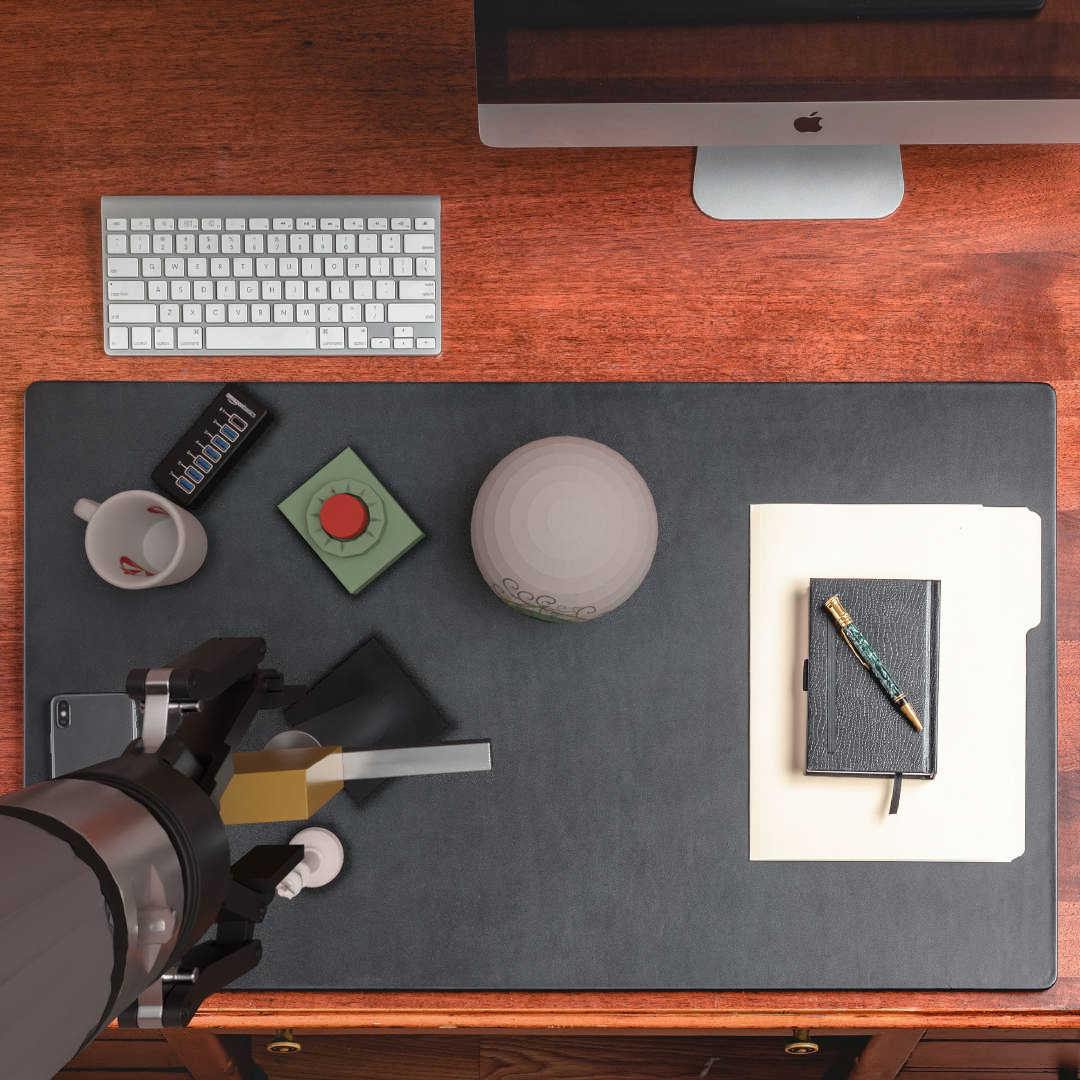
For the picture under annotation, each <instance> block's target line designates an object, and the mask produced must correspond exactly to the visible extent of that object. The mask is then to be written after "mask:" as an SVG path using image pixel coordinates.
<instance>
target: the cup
mask: <svg viewBox="0 0 1080 1080" xmlns="http://www.w3.org/2000/svg"><path fill="white" fill-rule="evenodd" d="M73 513H74V514H75V515H76V516H77V517H78V518H80V519H82V520H83V521H85V522H87V525H86V529H85V536H84V546H85V552H86V556H87V560H88V561H89V564H90V566H91V567H92V569H93V570H94V571H95V573H96V574H97V575H98V576H99V577H100V578H101V579H103V580H104V581H106V582H107V583H109V584H111V585H112V586H115V587H118V588H120V589H125V590H142V589H143V590H145V589H151V588H157V587H162V586H169V585H174V584H179V583H181V582H184V581H187V580H188V579H190V578H191V577H192V576H194V575H195V574H196V573H197V572H198V571H199V569H200V568H201V567H202V566H203V565H204V562H205V559H206V557H207V554H208V547H209V546H208V536H207V533H206V530H205V529H204V526H203V525H202V523H201V522H200V520H198V519H197V518H196V516H195V515H193V514H192V513H190V512H189V511H187V510H186V509H184V508H183V507H181V506H179V505H178V504H176V503H174V502H173V501H171V500H169V499H168V498H166V497H164V496H162V495H161V494H158V493H156V492H153V491H149V490H143V489H132V490H125V491H121V492H119V493H116V494H114V495H112V496H111V497H109V498H106V500H104V501H103V502H102V503H100V502H97V501H95V500H92V499H90V498H85V497H83V498H79V499H78V500H77V501H76V503H75V505H74V507H73Z"/></svg>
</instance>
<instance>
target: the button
mask: <svg viewBox="0 0 1080 1080" xmlns="http://www.w3.org/2000/svg"><path fill="white" fill-rule="evenodd" d="M320 520H321V524H322V526H323V528H324V529H325V530H326V531H327V532H328V533H329V534H331V535H333V536H335V537H338V538H341V539H350V538H354V537H356V536H358V535H359V534H360V533H361V532H362V531H363V530H364V528H365V526H366V523H367V512H366V509H365V507H364V506H363V504H362V503H361V502H360V501H358V500H357V499H355V498H354V497H352V496H350V495H346V494H338V495H335V496H332V497H330V498H329V499H328V500H327V501H326V502H325V503H324V504H323V506H322V508H321V512H320Z"/></svg>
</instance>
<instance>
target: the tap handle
mask: <svg viewBox="0 0 1080 1080" xmlns="http://www.w3.org/2000/svg"><path fill="white" fill-rule="evenodd" d="M492 740H493V739H492V737H483V738H467V739H453V740H439V741H431V742H422V743H407V744H392V745H378V746H363V747H348V748H342V746H327V747H312V748H297V749H282V750H267V751H263V750H255V751H254V750H253V751H240V752H235V753H234V755H233V756H232V757H233V763H234V770H235V772H234V775H233V777H232V779H231V781H230V782H229V784H228V786H227V788H226V790H225V792H224V794H223V795H222V797H221V799H220V806H221V809H220V812H219V814H220V816H221V818H222V820H223V823H224V826H229V825H230V826H231V825H233V826H234V825H244V824H245V825H246V824H247V825H248V824H257V823H258V824H259V823H260V824H263V823H274V822H291V821H292V822H293V821H304V820H309V819H310V818H311V817H312V816H313V815H314V814H316V813H317V812H318V811H319V810H320V809H321V808H322V807H323V806H325V805H326V804H327V803H328V802H329V801H330V800H331V799H332V798H333V797H335V796H336V795H337V794H338V793H339V792H341V790H343V789H345V788H344V781H343V780H357V779H371V778H386V777H389V778H401V777H415V776H427V775H428V776H429V775H443V774H459V773H472V772H488V771H492V768H493V765H494V758H493V757H494V756H493V742H492Z"/></svg>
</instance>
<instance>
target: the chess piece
mask: <svg viewBox="0 0 1080 1080" xmlns="http://www.w3.org/2000/svg"><path fill="white" fill-rule="evenodd" d="M291 844H304V859H303V860H302V861H301V862H300V863H299V864H298V865H297V866H296V867H295V868H294V869H293V870H292V871H291V872H290V873H289V874H288V875H287V876H286V877H285V878H284V879H283V880H282V881H281V882H280V884H279V885H278V886H277V887H276V888H275V889H276V891H277V894H278V895H279V896H280V897H281V898H282V897H283V898H288V899H289V900H292V898H294V897H296V896H297V895H298V894H299V893H300V892H301V891H302V889H303V888H305V887H306V888H320V887H323V886H324V885H326V884H328V883H330V882H332V881H333V880H334V879H335V878H336V877H337V876H338V874H339V873H340V871H341V869H342V867H343V863H344V848H343V845H342V843H341V841H340V839H339V838H338V837H337V836H336V835H335V834H334V833H333V832H331V831H330V830H329V829H326V828H324V827H319V826H314V827H313V826H312V827H308V828H305V829H302V830H301V831H299V832H298V833H296V834H295V835H294V836H292V839H291V840H290V841H289V844H288V845H291Z"/></svg>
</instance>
